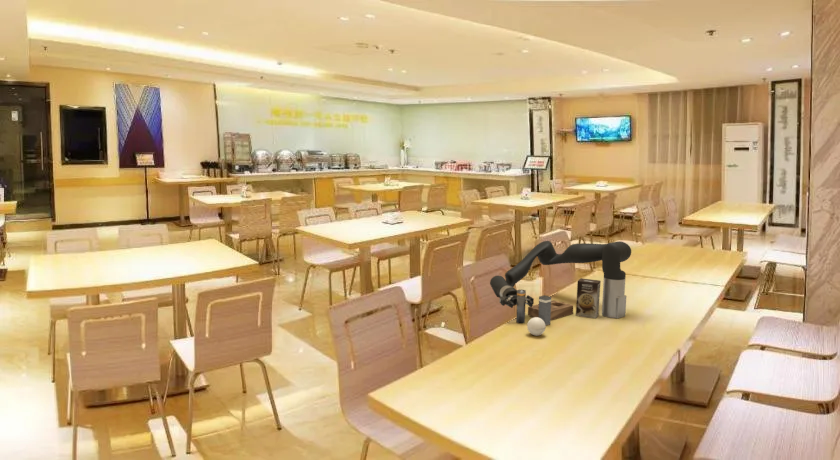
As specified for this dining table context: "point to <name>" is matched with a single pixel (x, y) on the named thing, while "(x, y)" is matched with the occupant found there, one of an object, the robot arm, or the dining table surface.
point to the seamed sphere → (536, 326)
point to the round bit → (521, 306)
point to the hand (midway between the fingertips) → (521, 305)
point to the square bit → (545, 309)
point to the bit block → (553, 310)
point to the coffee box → (588, 298)
